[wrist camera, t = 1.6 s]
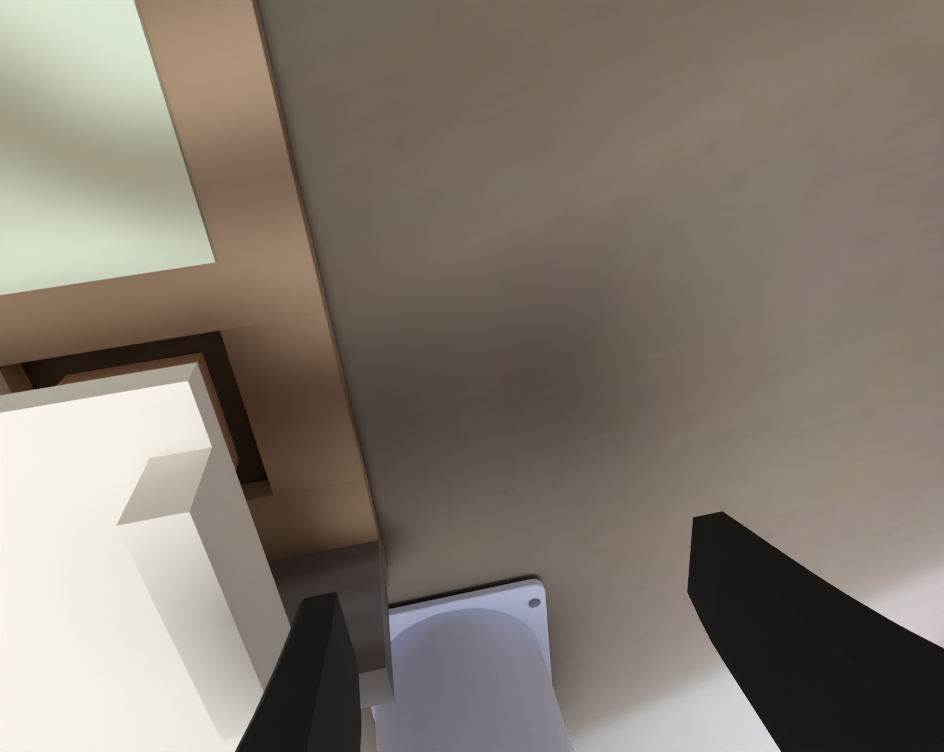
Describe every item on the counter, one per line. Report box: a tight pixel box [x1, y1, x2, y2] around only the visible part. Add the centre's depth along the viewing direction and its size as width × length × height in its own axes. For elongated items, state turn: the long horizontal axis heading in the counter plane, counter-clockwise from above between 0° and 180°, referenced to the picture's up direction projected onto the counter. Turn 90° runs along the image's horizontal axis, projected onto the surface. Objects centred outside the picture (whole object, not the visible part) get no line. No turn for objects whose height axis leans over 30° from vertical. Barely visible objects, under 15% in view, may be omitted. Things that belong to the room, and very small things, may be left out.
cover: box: [0, 363, 291, 752], centre depth 14 cm, size 12×8×3 cm, turn 7°
